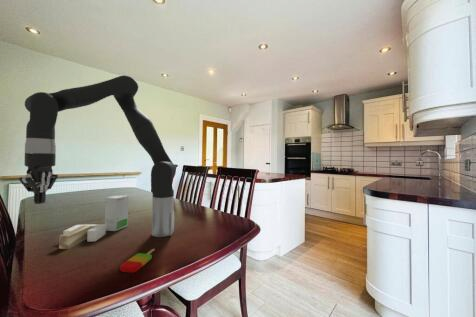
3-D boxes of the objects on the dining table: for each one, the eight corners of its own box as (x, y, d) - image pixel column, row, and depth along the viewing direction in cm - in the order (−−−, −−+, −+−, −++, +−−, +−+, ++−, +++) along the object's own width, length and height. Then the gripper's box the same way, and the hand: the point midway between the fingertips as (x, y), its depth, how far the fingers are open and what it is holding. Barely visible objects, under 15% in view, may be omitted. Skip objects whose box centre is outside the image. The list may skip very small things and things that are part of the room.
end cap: (105, 234, 91) (105, 224, 91) (95, 241, 83) (95, 230, 83) (76, 234, 89) (76, 224, 89) (63, 242, 81) (63, 231, 81)
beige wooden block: (91, 237, 88) (91, 225, 88) (68, 249, 76) (68, 236, 76) (83, 236, 88) (83, 225, 88) (59, 249, 76) (59, 235, 76)
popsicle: (118, 272, 61) (118, 266, 61) (147, 250, 76) (147, 245, 76) (134, 274, 61) (134, 268, 61) (160, 252, 75) (160, 247, 75)
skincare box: (115, 231, 94) (116, 198, 94) (103, 230, 95) (104, 197, 95) (128, 226, 102) (129, 195, 102) (117, 225, 103) (118, 194, 104)
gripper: (44, 153, 75) (43, 199, 74) (8, 151, 61) (7, 208, 61) (66, 153, 76) (65, 199, 75) (36, 151, 62) (35, 207, 62)
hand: (39, 203), depth 68 cm, fingers closed
